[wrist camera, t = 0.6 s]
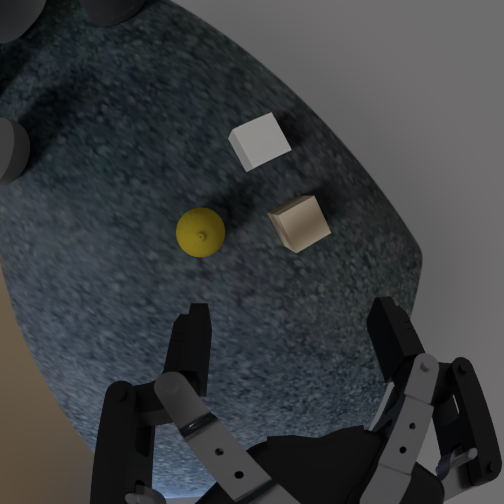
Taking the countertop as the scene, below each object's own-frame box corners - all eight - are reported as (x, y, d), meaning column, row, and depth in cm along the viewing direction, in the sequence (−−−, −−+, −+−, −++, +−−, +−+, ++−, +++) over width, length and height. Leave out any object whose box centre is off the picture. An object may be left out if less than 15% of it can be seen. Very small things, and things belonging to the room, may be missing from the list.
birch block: (267, 212, 36) (277, 215, 31) (299, 195, 36) (314, 195, 31) (284, 245, 37) (296, 253, 32) (314, 227, 37) (330, 232, 33)
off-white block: (228, 138, 33) (232, 129, 28) (261, 122, 33) (271, 112, 28) (246, 172, 34) (253, 168, 29) (279, 155, 35) (291, 149, 30)
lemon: (227, 213, 35) (235, 218, 27) (215, 254, 36) (219, 270, 28) (185, 200, 34) (181, 202, 26) (174, 242, 34) (166, 256, 27)
